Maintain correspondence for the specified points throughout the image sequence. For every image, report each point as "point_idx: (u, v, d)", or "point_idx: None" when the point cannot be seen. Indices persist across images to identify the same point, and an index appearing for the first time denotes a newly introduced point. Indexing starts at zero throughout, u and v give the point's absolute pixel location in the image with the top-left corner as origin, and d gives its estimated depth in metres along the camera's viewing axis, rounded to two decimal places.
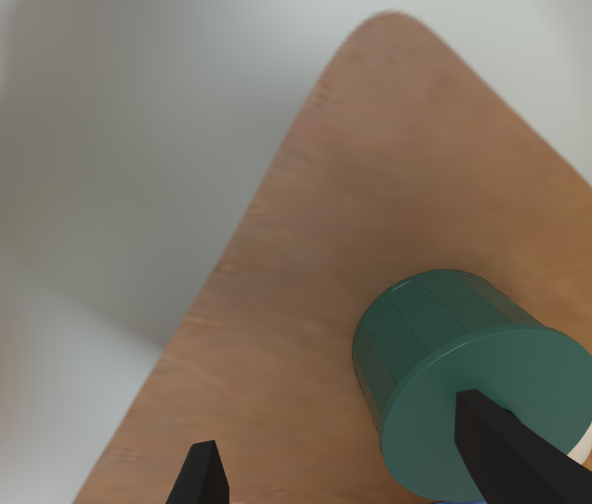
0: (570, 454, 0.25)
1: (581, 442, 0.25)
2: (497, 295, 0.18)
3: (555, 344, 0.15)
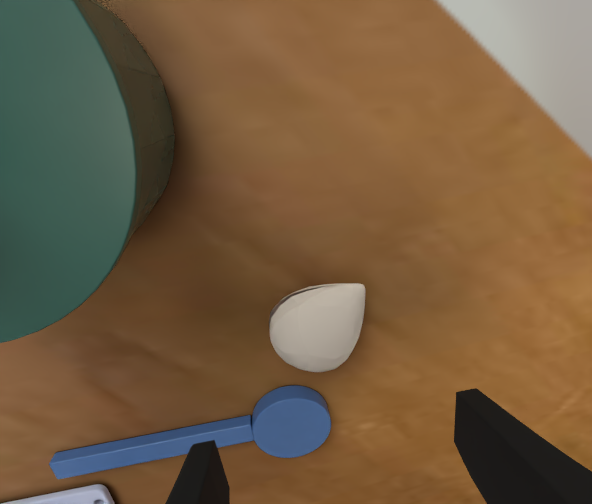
0: (310, 333, 0.16)
1: (329, 315, 0.16)
2: None
3: None
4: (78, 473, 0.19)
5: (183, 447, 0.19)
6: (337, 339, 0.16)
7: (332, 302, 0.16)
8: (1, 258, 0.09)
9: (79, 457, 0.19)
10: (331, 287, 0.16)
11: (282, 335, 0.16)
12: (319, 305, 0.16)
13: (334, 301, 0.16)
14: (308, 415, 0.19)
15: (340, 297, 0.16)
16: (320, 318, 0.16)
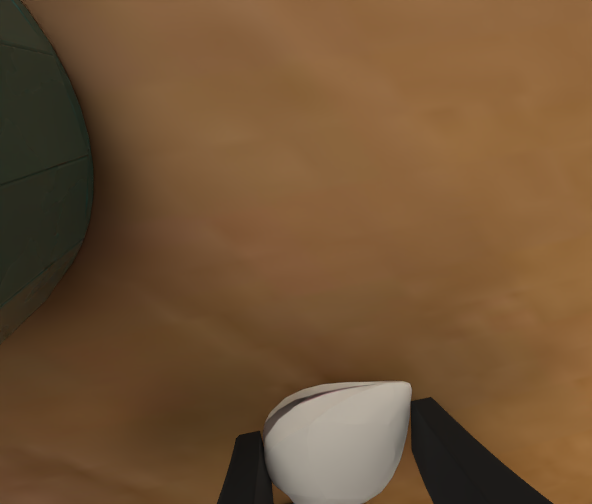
0: (328, 468, 0.10)
1: (358, 438, 0.10)
2: None
3: None
4: None
5: None
6: (369, 472, 0.10)
7: (362, 417, 0.10)
8: None
9: None
10: (360, 390, 0.10)
11: (283, 468, 0.10)
12: (341, 423, 0.10)
13: (365, 415, 0.10)
14: None
15: (374, 407, 0.10)
16: (343, 444, 0.10)
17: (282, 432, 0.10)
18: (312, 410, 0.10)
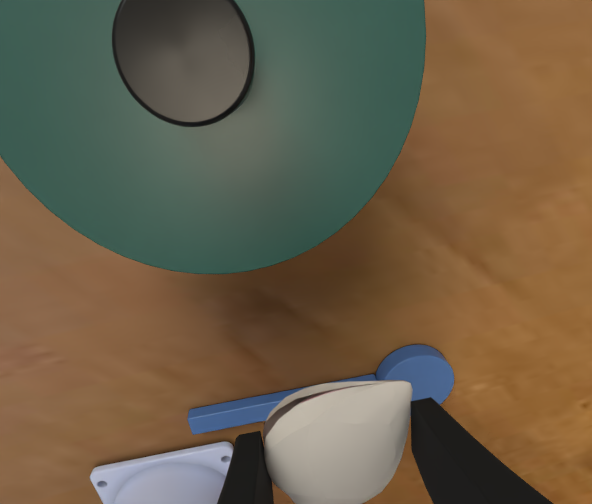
0: (328, 467, 0.10)
1: (358, 437, 0.10)
2: None
3: None
4: (212, 428, 0.20)
5: None
6: (370, 471, 0.10)
7: (362, 416, 0.10)
8: (282, 183, 0.10)
9: (215, 412, 0.20)
10: (360, 390, 0.10)
11: (283, 468, 0.10)
12: (342, 422, 0.10)
13: (366, 414, 0.10)
14: (434, 372, 0.20)
15: (375, 407, 0.10)
16: (344, 443, 0.10)
17: (282, 431, 0.10)
18: (313, 409, 0.10)
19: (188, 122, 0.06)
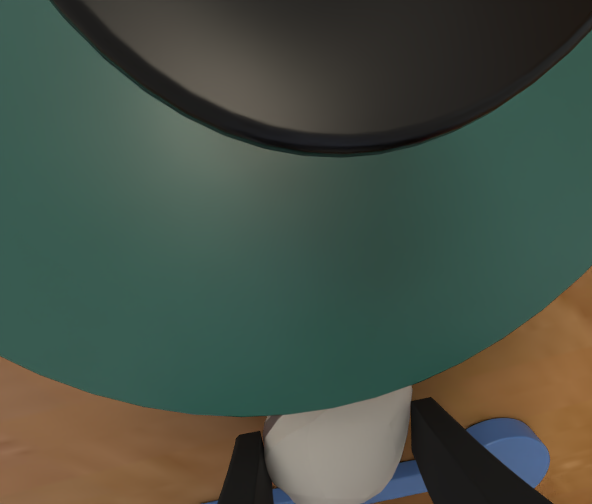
0: (328, 467, 0.10)
1: (358, 437, 0.10)
2: None
3: None
4: None
5: None
6: (370, 471, 0.10)
7: (362, 416, 0.10)
8: (419, 252, 0.05)
9: None
10: None
11: (283, 468, 0.10)
12: (342, 422, 0.10)
13: (365, 414, 0.10)
14: (526, 457, 0.15)
15: (375, 407, 0.10)
16: (343, 443, 0.10)
17: (282, 431, 0.10)
18: None
19: (333, 136, 0.01)
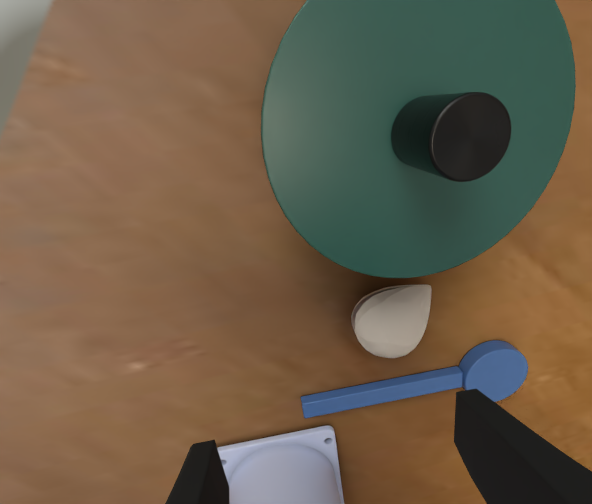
0: (390, 325, 0.19)
1: (405, 310, 0.19)
2: None
3: None
4: (321, 413, 0.23)
5: (407, 392, 0.23)
6: (410, 330, 0.20)
7: (407, 300, 0.19)
8: (460, 211, 0.13)
9: (325, 399, 0.23)
10: (405, 288, 0.20)
11: (367, 327, 0.19)
12: (397, 302, 0.19)
13: (408, 299, 0.19)
14: (512, 364, 0.23)
15: (413, 296, 0.20)
16: (398, 313, 0.19)
17: (366, 308, 0.19)
18: (381, 297, 0.20)
19: (463, 179, 0.10)
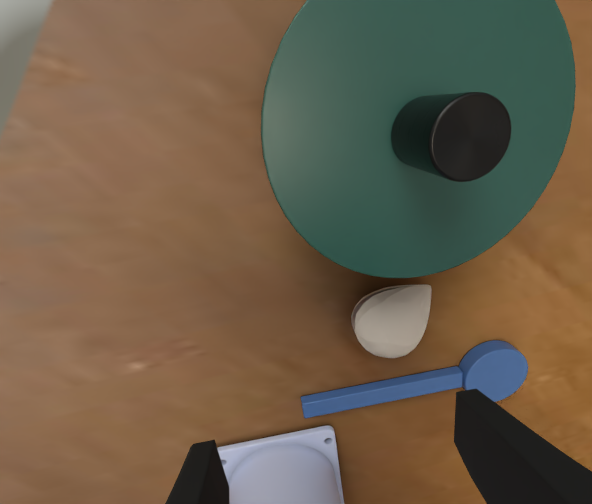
0: (390, 325, 0.19)
1: (405, 310, 0.19)
2: None
3: None
4: (321, 413, 0.23)
5: (407, 392, 0.23)
6: (411, 330, 0.20)
7: (407, 300, 0.19)
8: (460, 211, 0.13)
9: (325, 399, 0.23)
10: (405, 288, 0.20)
11: (367, 327, 0.19)
12: (397, 302, 0.19)
13: (408, 299, 0.19)
14: (512, 364, 0.23)
15: (413, 296, 0.20)
16: (398, 313, 0.19)
17: (366, 308, 0.19)
18: (381, 297, 0.20)
19: (463, 179, 0.10)
